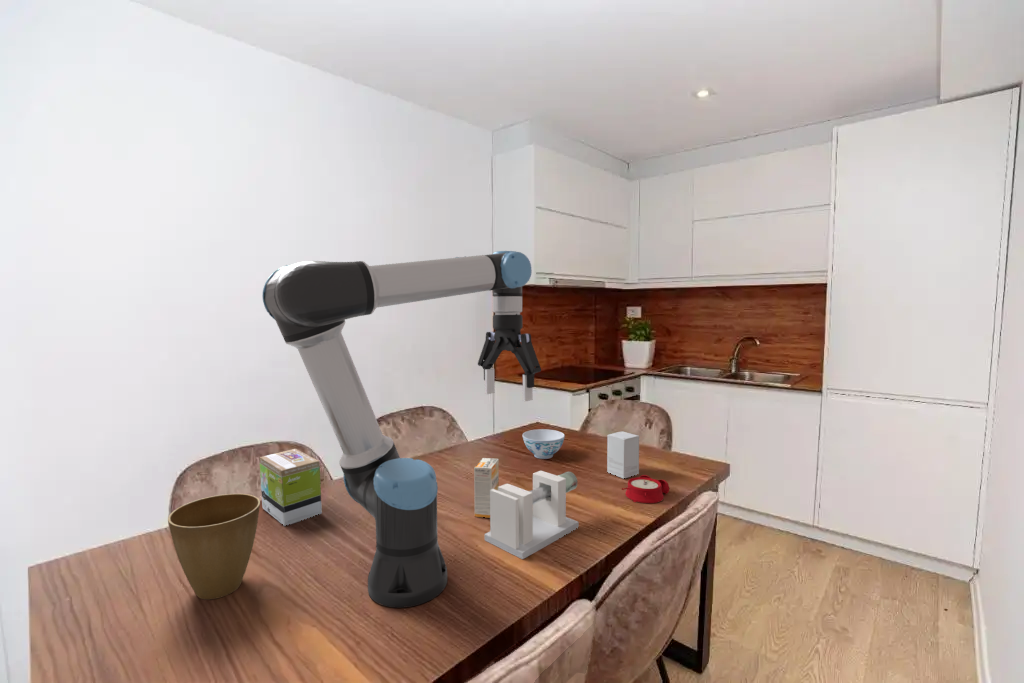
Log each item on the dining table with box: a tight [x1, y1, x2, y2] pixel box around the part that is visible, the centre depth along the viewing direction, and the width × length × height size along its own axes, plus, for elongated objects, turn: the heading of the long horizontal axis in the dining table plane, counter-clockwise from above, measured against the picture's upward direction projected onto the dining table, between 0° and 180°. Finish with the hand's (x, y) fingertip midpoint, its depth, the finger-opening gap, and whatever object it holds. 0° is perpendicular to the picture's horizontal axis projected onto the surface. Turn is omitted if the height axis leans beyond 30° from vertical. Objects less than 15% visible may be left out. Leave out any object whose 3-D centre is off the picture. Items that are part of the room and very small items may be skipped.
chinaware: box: [522, 428, 566, 460], centre depth 171 cm, size 15×15×8 cm
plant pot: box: [167, 493, 261, 600], centre depth 92 cm, size 15×15×16 cm
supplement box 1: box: [473, 457, 500, 519], centre depth 126 cm, size 8×5×13 cm, turn 168°
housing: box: [484, 470, 580, 560], centre depth 113 cm, size 20×12×12 cm, turn 136°
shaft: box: [528, 471, 579, 504], centre depth 115 cm, size 23×5×5 cm, turn 136°
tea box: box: [259, 448, 323, 527], centre depth 126 cm, size 15×10×15 cm, turn 47°
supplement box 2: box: [606, 430, 640, 479], centre depth 153 cm, size 7×7×13 cm
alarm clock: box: [621, 474, 670, 504], centre depth 136 cm, size 10×6×15 cm
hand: (508, 397), depth 122 cm, fingers open, 13 cm apart
